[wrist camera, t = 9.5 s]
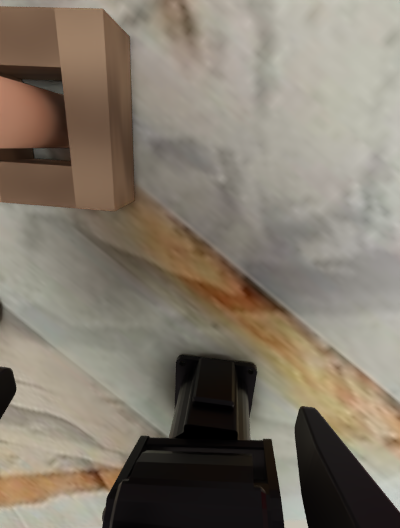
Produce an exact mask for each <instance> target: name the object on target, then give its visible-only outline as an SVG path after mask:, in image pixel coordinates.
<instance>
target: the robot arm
mask: <svg viewBox="0 0 400 528" xmlns="http://www.w3.org/2000/svg"><path fill="white" fill-rule="evenodd" d="M181 361H184V363H183V362H181ZM249 369H252V371H249ZM256 375H257V368H256V366H255V365H254V364H251V363H243V362H235V361H227V360H219V359H210V358H202V357H194V356H185V355H181V356H179V357H178V358H177V362H176V388H175V412H174V417H173V421H172V426H171V430H170V434H169V438H152V437H149V436H140V438H139V440H138V442H137V444H136V445H135V447H134V449H133V451H132V452H131V454H130V456H129V458H128V460H127V461H126V463H125V465H124V467H123V469H122V471H121V472H120V474H119V476H118V478H117V480H116V481H115V483H114V485H113V487H112V489H111V491H110V492H109V494H108V496H107V500H106V507H105V509H104V511H103V515H102V521H103V527H102V528H284V520H283V511H282V503H281V496H280V489H279V483H278V477H277V471H276V464H275V458H274V452H273V446H272V440H271V439H263V440H250V423H249V417H250V411H251V405H252V399H253V393H254V387H255V381H256ZM15 393H16V383H15V379H14V375H13V371H12V369H11V368H7V367H0V419H1V417H2V415H3V414H4V412H5V410H6V409H7V407H8V405H9V404H10V402H11V400H12V399H13V397H14V395H15ZM295 441H296V450H297V459H298V468H299V477H300V486H301V494H302V499H303V504H304V509H305V514H306V519H307V524H308V528H400V512H399V511H398V509H397V508H396V507H395V506H394V505H393V503H392V502H391V501H390V500H389V498H388V497H387V496H386V495H385V493H384V492H383V491H382V490H381V488H380V487H379V486H378V485H377V484H376V482H375V481H374V480H373V479H372V477H371V476H370V475H369V474H368V472H367V471H366V470H365V469H364V467H363V466H362V465H361V464H360V463H359V461H358V460H357V459H356V458H355V456H354V455H353V454H352V453H351V451H350V450H349V449H348V448H347V446H346V445H345V444H344V443H343V442H342V440H341V439H340V438H339V437H338V435H337V434H336V433H335V432H334V430H333V429H332V428H331V427H330V425H329V424H328V423H327V422H326V421H325V419H324V418H323V417H322V416H321V414H320V413H319V412H318V411H317V410H316V409H315V408H313V407H305V406H302V407H300V409H299V412H298V416H297V420H296V424H295Z"/></svg>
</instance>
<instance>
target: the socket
mask: <svg viewBox="0 0 400 528" xmlns="http://www.w3.org/2000/svg"><path fill="white" fill-rule="evenodd" d="M0 76H1V77H5V78H8V79H11V80H15V81H18V82H21V83H22V79H32V80H55V81H62V83H63V92H64V101H65V110H66V120H67V129H68V138H69V147H70V156H71V161H63V160H48V159H34V155H33V148H0V202H5V203H18V204H30V205H43V206H55V207H67V208H80V209H92V210H104V211H116V210H118V209H120V208H122V207H124V206H125V205H127V204H129V203H131V202H133V201H135V196H134V164H133V133H132V101H131V69H130V38H129V35H128V34H127V33H126V32H125V31H124V30H123V29H122V28H121V27H120V26H119V25H118V24H117V23H116V22H115V21H114V20H113V19H112V18H111V17H110V16H109V15H108V14H107V13H106V12H105V10H104V9H93V8H46V7H0Z"/></svg>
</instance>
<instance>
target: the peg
mask: <svg viewBox="0 0 400 528" xmlns="http://www.w3.org/2000/svg"><path fill="white" fill-rule="evenodd" d="M0 148H69V138H68V129H67V120H66V110H65V101H64V95H62V94H58V93H55V92H52V91H48V90H45V89H42V88H38V87H35V86H32V85H28V84H25V83H21V82H18V81H15V80H11V79H8V78H5V77H1V76H0Z"/></svg>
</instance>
